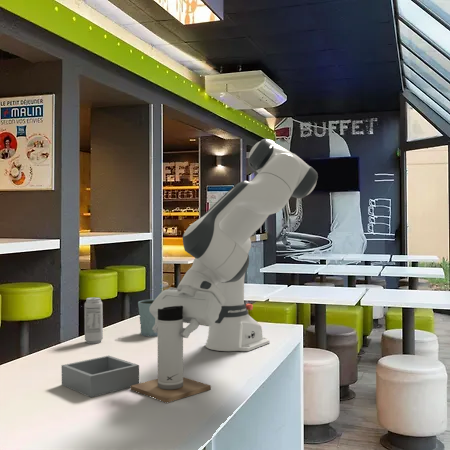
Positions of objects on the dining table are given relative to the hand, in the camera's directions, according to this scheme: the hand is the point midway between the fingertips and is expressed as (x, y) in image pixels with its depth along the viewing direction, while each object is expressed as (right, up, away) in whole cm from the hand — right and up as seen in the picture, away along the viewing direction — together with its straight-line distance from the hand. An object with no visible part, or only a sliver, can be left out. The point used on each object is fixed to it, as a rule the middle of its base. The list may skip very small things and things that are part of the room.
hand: (169, 333), depth 136 cm
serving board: (0, -14, 0) cm, 14 cm away
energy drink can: (-31, -14, +53) cm, 63 cm away
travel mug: (0, -13, 0) cm, 13 cm away
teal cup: (-13, -13, +66) cm, 69 cm away
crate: (-18, -14, +5) cm, 23 cm away
